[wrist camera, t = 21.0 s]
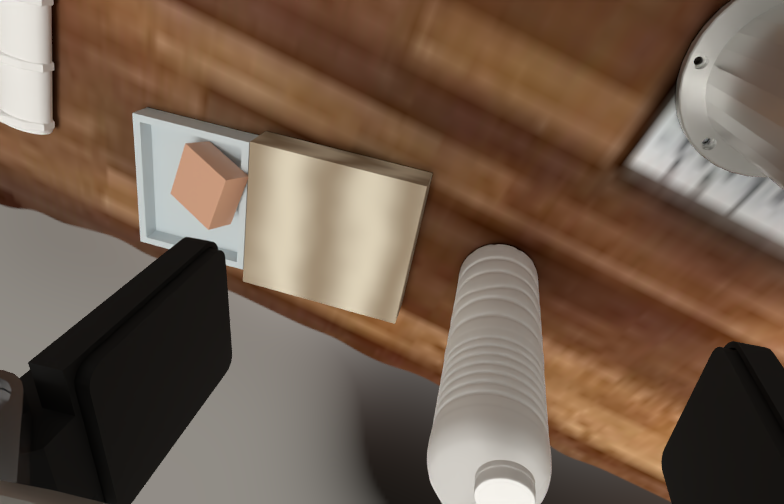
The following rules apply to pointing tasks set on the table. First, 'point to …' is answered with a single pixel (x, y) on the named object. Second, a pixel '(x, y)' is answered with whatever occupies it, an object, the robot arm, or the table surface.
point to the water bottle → (492, 387)
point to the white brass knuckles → (26, 65)
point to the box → (157, 174)
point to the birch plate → (331, 224)
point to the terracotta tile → (208, 184)
